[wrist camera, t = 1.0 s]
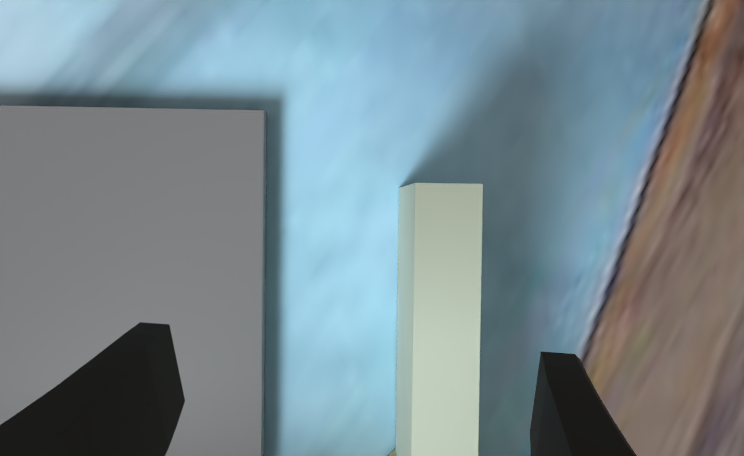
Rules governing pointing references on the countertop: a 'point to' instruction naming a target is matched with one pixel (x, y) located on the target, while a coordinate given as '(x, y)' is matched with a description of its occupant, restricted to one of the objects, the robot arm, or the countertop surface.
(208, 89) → the countertop surface
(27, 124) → the cabinet base
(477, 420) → the door
